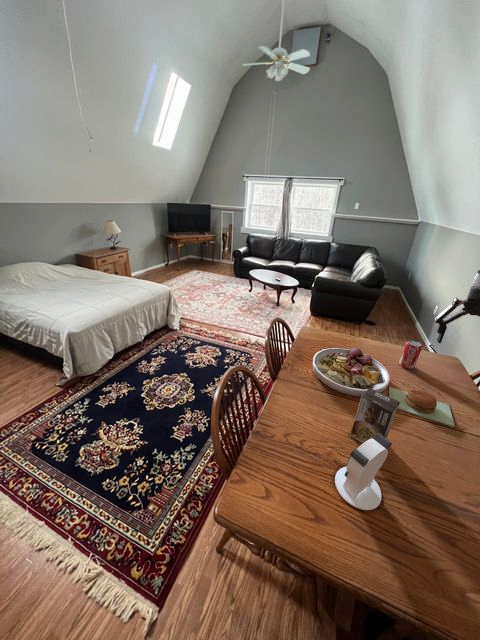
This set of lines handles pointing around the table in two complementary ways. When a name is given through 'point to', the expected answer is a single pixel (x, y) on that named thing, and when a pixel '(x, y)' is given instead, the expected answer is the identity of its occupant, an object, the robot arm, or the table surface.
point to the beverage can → (410, 354)
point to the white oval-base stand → (363, 474)
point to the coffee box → (374, 415)
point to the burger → (421, 400)
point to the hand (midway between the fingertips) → (461, 346)
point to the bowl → (350, 371)
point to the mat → (439, 415)
